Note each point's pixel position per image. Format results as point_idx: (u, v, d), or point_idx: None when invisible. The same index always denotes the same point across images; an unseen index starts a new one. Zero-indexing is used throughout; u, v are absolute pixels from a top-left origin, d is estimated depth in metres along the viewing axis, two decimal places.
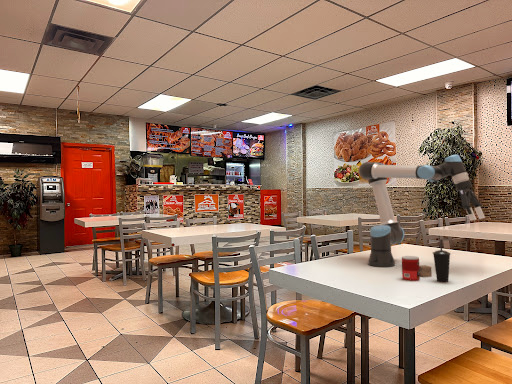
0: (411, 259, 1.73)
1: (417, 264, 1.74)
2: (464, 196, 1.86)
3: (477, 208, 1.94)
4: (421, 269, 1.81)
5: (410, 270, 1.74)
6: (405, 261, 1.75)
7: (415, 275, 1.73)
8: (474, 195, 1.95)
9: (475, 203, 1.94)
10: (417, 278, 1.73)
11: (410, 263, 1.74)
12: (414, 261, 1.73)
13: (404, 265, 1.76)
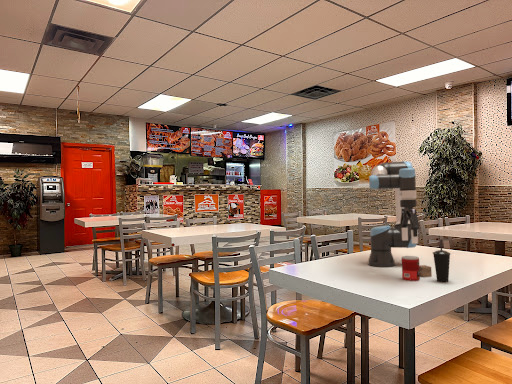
0: (411, 259, 1.73)
1: (417, 264, 1.74)
2: None
3: None
4: (421, 269, 1.81)
5: (410, 270, 1.74)
6: (405, 261, 1.75)
7: (415, 275, 1.73)
8: (411, 216, 1.71)
9: None
10: (417, 278, 1.73)
11: (410, 263, 1.74)
12: (414, 261, 1.73)
13: (404, 265, 1.76)
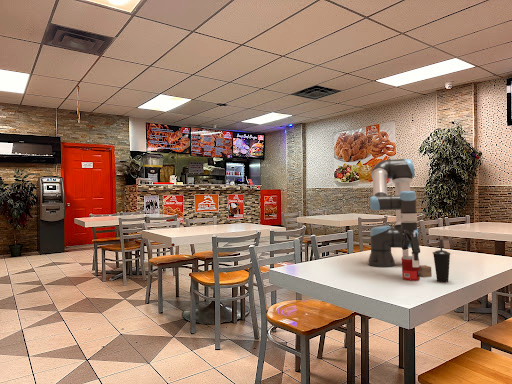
0: (411, 259, 1.73)
1: None
2: None
3: None
4: (421, 269, 1.81)
5: (410, 270, 1.74)
6: (405, 261, 1.75)
7: (415, 275, 1.73)
8: (411, 240, 1.71)
9: None
10: (417, 278, 1.73)
11: (410, 263, 1.74)
12: None
13: (404, 265, 1.76)
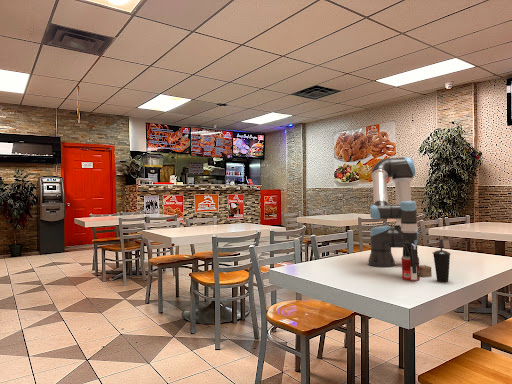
0: None
1: None
2: None
3: None
4: (421, 269, 1.81)
5: (410, 270, 1.74)
6: (405, 261, 1.75)
7: None
8: (411, 252, 1.72)
9: None
10: (417, 278, 1.73)
11: (410, 263, 1.74)
12: None
13: (404, 265, 1.76)
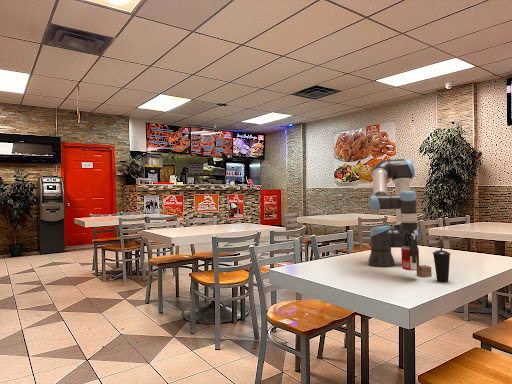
0: None
1: None
2: None
3: None
4: (421, 269, 1.81)
5: None
6: (405, 251, 1.75)
7: None
8: (411, 241, 1.72)
9: None
10: (417, 268, 1.74)
11: (410, 253, 1.74)
12: None
13: (404, 255, 1.76)
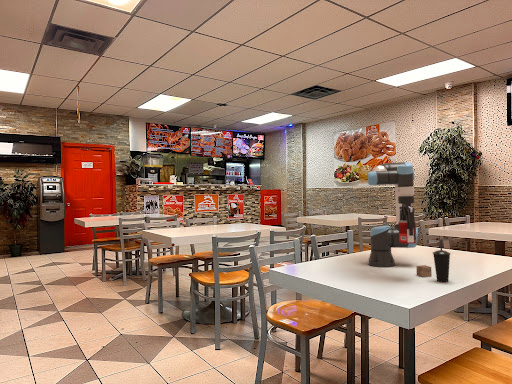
0: None
1: None
2: None
3: None
4: (421, 269, 1.81)
5: None
6: (402, 224, 1.76)
7: None
8: (408, 214, 1.73)
9: None
10: (414, 241, 1.75)
11: (407, 226, 1.75)
12: None
13: (401, 228, 1.77)
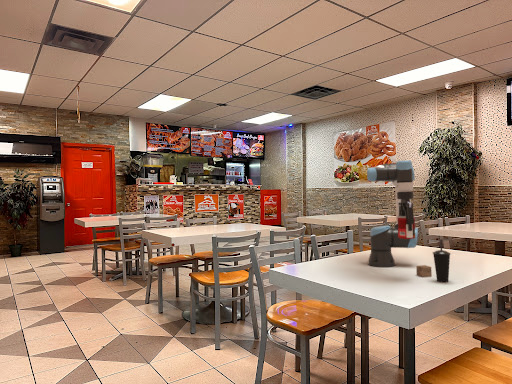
0: None
1: None
2: None
3: None
4: (421, 269, 1.81)
5: None
6: (401, 219, 1.76)
7: None
8: (407, 209, 1.73)
9: None
10: (413, 236, 1.75)
11: (406, 221, 1.75)
12: None
13: (400, 224, 1.77)
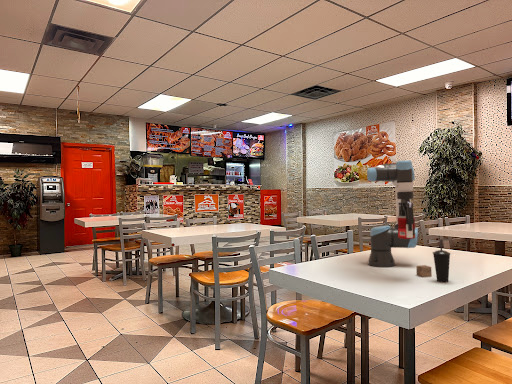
0: None
1: None
2: None
3: None
4: (421, 269, 1.81)
5: None
6: (401, 219, 1.76)
7: None
8: (407, 209, 1.73)
9: None
10: (413, 236, 1.75)
11: (406, 221, 1.75)
12: None
13: (400, 224, 1.77)
